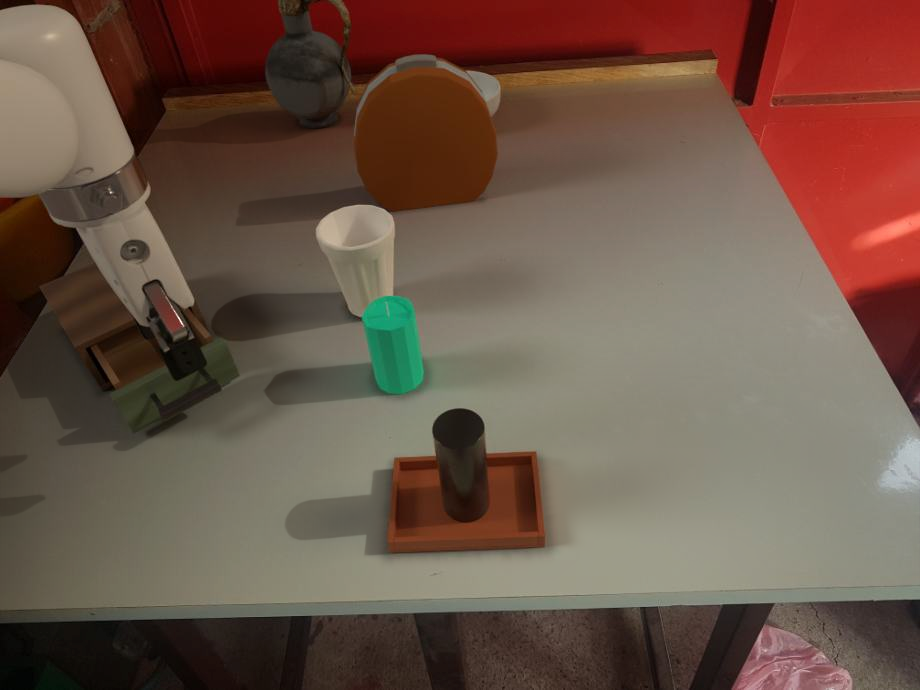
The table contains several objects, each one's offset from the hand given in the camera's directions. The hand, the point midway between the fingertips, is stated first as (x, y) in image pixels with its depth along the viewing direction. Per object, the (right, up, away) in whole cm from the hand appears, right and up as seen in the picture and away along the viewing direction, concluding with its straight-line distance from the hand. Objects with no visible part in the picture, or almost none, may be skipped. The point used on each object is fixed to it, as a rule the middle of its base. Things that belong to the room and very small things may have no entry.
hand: (174, 350), depth 65 cm
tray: (+28, -16, +6) cm, 33 cm away
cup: (+15, +6, +31) cm, 35 cm away
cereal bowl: (+27, +43, +69) cm, 86 cm away
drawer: (-9, -4, +21) cm, 23 cm away
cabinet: (-17, +2, +30) cm, 34 cm away
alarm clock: (+22, +26, +51) cm, 62 cm away
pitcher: (0, +45, +73) cm, 86 cm away
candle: (+20, -4, +20) cm, 28 cm away
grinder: (+28, -16, +6) cm, 32 cm away
